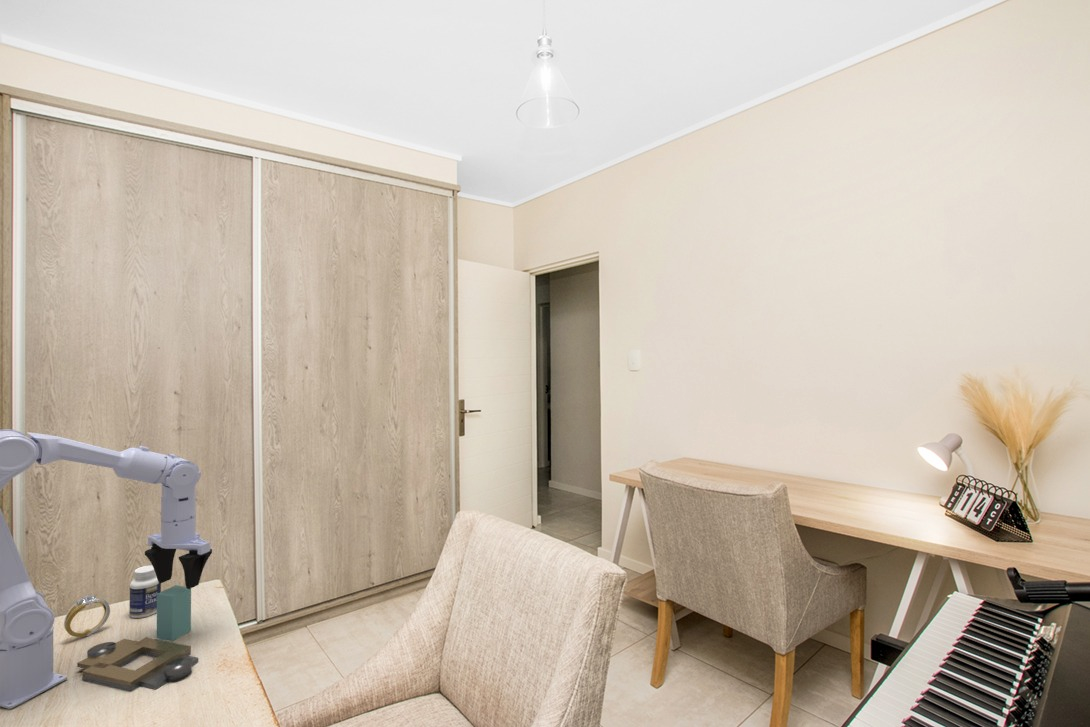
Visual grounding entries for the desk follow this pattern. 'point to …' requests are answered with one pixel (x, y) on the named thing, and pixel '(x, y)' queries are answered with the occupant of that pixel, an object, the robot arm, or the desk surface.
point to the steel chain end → (168, 673)
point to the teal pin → (173, 613)
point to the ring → (73, 611)
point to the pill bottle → (144, 592)
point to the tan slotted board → (111, 654)
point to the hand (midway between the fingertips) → (178, 583)
